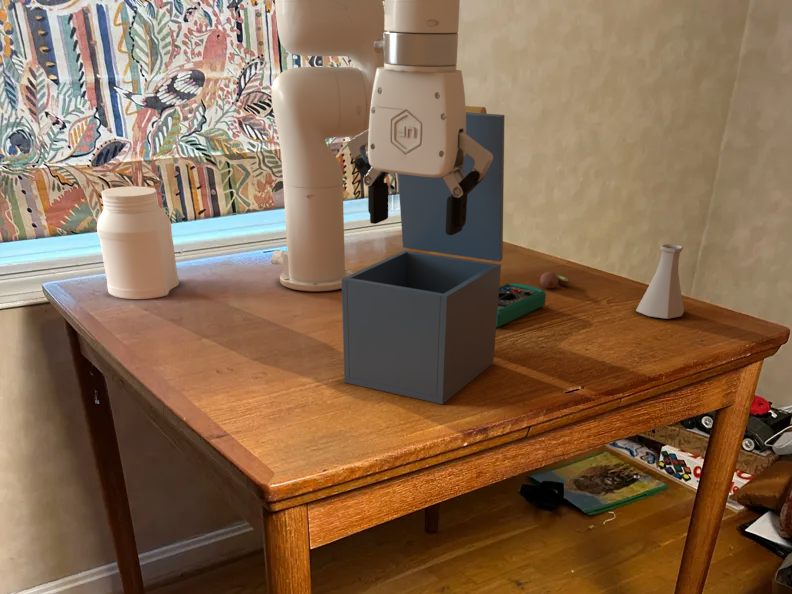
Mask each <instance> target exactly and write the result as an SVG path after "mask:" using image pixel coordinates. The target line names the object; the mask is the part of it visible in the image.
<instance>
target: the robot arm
mask: <svg viewBox="0 0 792 594" xmlns="http://www.w3.org/2000/svg"><path fill="white" fill-rule="evenodd" d="M460 2H461V1H460V0H384V2H383V0H274V8H275V9H274V10H275V20H276V28H277V35H278V39H279V42H280V45H281V46H282V48H283V49H284V50H285V51H286V52H287V53H289V54H292V55H294V56H295V55H296V56H303V57H349V59H350V61H351V66H298V67H297V66H296V67H292V68H288V69H285V70H284V71H281V72H280V73H279V74H277V76H276V77H275V79H274V80H273V81H272V86H271V93H270V94H271V95H270V96H271V105H272V110H273V116H274V122H275V126H276V131H277V135H278V144H279V150H280V160H281V171H282V172H281V173H282V185H283V186H282V188H283V202H284V203H283V204H284V218H285V219H284V220H285V235H286V250H287V251H285V250H279V249H275V250H274V251H273V253H272V256H271V257H270V263H271V264H272V265H277V266H282V272H281V273H280V274H279V282H280V285H282V286H284V288H285V287H286V288H287V289H291V290H296V291H301V292H302V291H303V292H330V291H331V292H332V291H338V290H342V278H344V277H347V276H349V275H351V274H353V273H354V272H353V271H351V270H350V269H347V268H346V258H345V253H346V252H345V251H346V250H345V219H344V218H345V217H344V216H345V215H344V178H343V177H344V176H343V169H342V165H341V162H340V161H339V159H338V158H337V156H336V155H335V153H334V152H333V151H332V150H331V148H329V146H328V144H327V142H326V140H328V139H335V138H350V139H348V140H347V148H348V150H349V153H350V156H351V158H352V159H353V161H354V167H355V169H356V170H357V172H358V173H359V175H361V177H362V178H363V183H364V185H365V186H366V187H367V210H368V213H369V222H370V224H373V225H376V224H379V223H381V222H384V221H387V219H388V218H389V184H388V183H389V182H385V179H386V178H387V177H388V175H389V174H396V175H398V174H404V175H412V176H421V177H430V178H439V177H442V178H443V180H444V181H445V183H446V184H447V186H448V188H449V189H450V191H451V193H452V195H451V196H450V197H448V198H447V210H446V233H447V235H454V234H456V233H458V232H460V231H461V230H462V228H463V226H464V225H465V222H466V211H467V194H469V193H470V192H471V191H472V189H473V188H474V187H475V186H476V185H477V184H479V183H480V182H481V181H482V180H483V178H484V174H485V173H486V171H487V169H488V168H489V166H490V164H491V162H492V160H493V154H492V153H491V152H489V151H488V150H487V149H485V148H484V147H483V146H481V145H480V144H479V143H477V142H476V141H475V140H473V139H472V138H471V137H469V136H468V135H467V134H466V106H467V105H466V94H465V86H464V85H465V84H464V77H463V71H462V70H461V69H457V65H458V64H457V63H458V43H459V23H460V6H461V5H460V4H461V3H460ZM366 147H367V150H366ZM465 153H466V154H467V155H469V156H470V157H471V158H473V160H474V166H473V169H472V171H471V172H470V173H469V174H468V175H467V176H466V175H465V173H464V171H463V170H462V168H463V166H464V162H465Z"/></svg>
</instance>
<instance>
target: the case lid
mask: <svg viewBox="0 0 792 594" xmlns="http://www.w3.org/2000/svg"><path fill="white" fill-rule="evenodd" d="M465 106H466V134H467V135H468V136H469V137H471V138H472V139H473V140H475V141H476V142H477V143H479V144H480V145H481V146H483V147H484V148H485V149H487V150H488V151H489V152H491V153H492V154H493V160H492V162H491V164H490V166H489V168H488V169H487V171H486V173H485V174H484V178H483V180H482V181H481V182H480V183H479V184H477V185H476V186H475V187H474V188H473V189H472V191H471V192H470V193H469V194H467V211H466V222H465V225H464V226H463V228H462V230H461V231H460V232H458V233H456V234H454V235H447V233H446V210H447V198H448V197H450V196H451V195H452V193H451V191H450V189H449V188H448V186H447V184H446V183H445V181H444V180H443V178H442V177H439V178H430V177H421V176H412V175H404V174H397V182H398V195H399V196H398V197H399V208H400V211H399V212H400V227H401V239H402V248H403V249H410V250H415V251H424V252H429V253H437V254H446V255H451V256H452V255H453V256H458V257H467V258H472V259H473V258H474V259H479V260H480V259H481V260H486V261H492V262H493V261H494V262H502V260H503V257H504V254H503V251H504V250H503V247H504V245H503V244H504V184H505V183H504V179H505V178H504V176H505V175H504V174H505V169H504V168H505V118H506V117H505V114H496V113H487V112H488V111H487V108H486V107H485V106H474V105H465ZM473 166H474V160H473V158H471V157H470V156H469V155H467V154H466V153H465V162H464V166H463V168H462V170H463V171H464V173H465V175H466V176H467V175H468V174H469V173H470V172H471V171H472V169H473Z"/></svg>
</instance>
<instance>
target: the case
mask: <svg viewBox="0 0 792 594" xmlns="http://www.w3.org/2000/svg"><path fill="white" fill-rule="evenodd" d="M501 270H502V264H500V263H494V262H486V261H480V260H473V259H468V258H460V257H453V256H445V255H439V254H433V253H426V252H419V251H412V250H406V249H405V250H404V249H403V250H402V251H400V252H397V253H395V254H393V255H391V256H388V257H386V258H384V259H382V260H380V261H377V262H375V263H374V264H371V265H369V266H367V267H364V268H362V269H359V270H358V271H355V272H353V274H351V275H349V276H347V277H344V278H342V289H341V309H342V310H341V311H342V312H341V313H342V346H343V377H344V379H343V380H344V383H345V384H349V385H353V386H358V387H362V388H366V389H372V390H376V391H380V392H385V393H391V394H394V395H397V396H403V397H408V398H412V399H415V400H416V399H417V400H422V401H426V402H430V403H435V404H439V405H444V404H445V403H447V401H448V400H450V399H451V398H452V397H453V396H454V395H456V394H458V392H460V391H461V390H462V389H463V388H465V387H466V386H467V385H468V384H470V383H471V382H472V381H473V380H474V379H476V378H477V377H478V376H479V375H480V374H482V373H484V371H486V370H487V369H488V368H489V367H490V366H492V365H493V364H494V358H495V348H496V347H495V346H496V334H497V328H496V323H497V310H498V297H499V287H500V281H501Z"/></svg>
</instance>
